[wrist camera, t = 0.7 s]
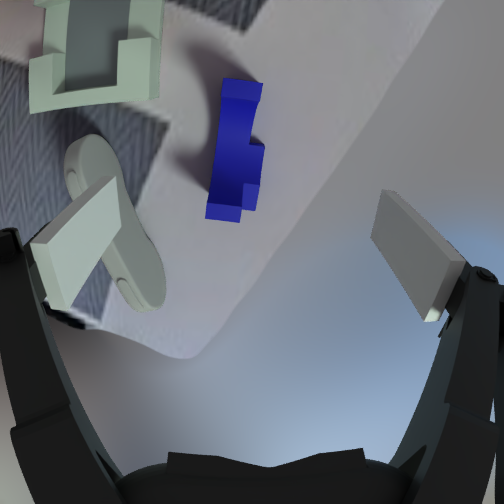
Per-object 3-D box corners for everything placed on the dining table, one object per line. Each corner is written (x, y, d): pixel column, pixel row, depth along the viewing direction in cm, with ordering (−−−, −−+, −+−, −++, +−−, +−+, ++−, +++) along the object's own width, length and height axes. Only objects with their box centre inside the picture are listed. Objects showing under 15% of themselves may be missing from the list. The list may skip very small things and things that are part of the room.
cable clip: (254, 199, 33) (256, 225, 28) (210, 193, 32) (205, 218, 27) (274, 85, 27) (282, 86, 22) (226, 78, 26) (223, 77, 21)
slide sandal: (88, 134, 28) (47, 155, 21) (106, 126, 28) (67, 144, 21) (155, 283, 38) (139, 330, 31) (171, 279, 38) (158, 327, 31)
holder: (47, 108, 26) (29, 114, 23) (57, -34, 17) (41, -41, 14) (158, 97, 27) (148, 100, 24) (172, -59, 18) (165, -72, 15)
